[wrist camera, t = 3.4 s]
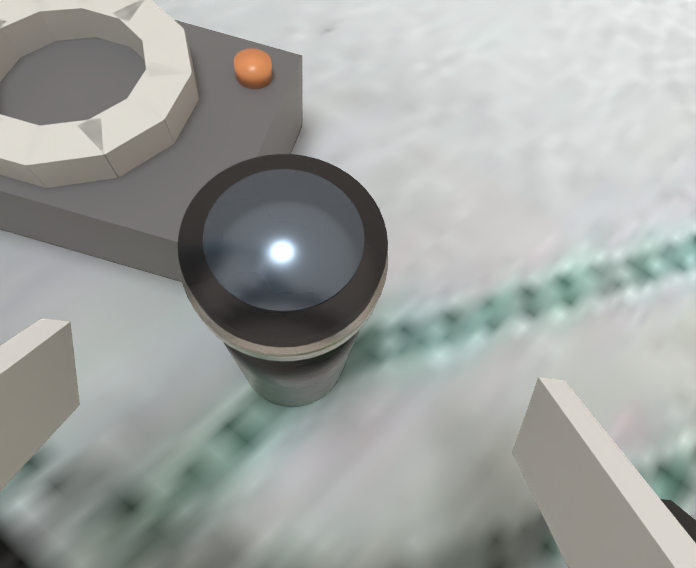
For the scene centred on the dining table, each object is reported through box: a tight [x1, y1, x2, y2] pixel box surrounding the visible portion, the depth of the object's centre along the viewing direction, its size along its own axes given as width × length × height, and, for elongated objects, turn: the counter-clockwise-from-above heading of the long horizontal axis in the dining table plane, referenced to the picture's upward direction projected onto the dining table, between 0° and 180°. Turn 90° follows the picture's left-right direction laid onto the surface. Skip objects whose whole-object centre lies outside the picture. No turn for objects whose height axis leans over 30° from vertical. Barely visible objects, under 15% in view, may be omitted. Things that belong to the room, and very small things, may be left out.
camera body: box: [0, 0, 302, 282], centre depth 22 cm, size 18×12×7 cm, turn 75°
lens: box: [178, 154, 388, 407], centre depth 16 cm, size 5×5×12 cm
